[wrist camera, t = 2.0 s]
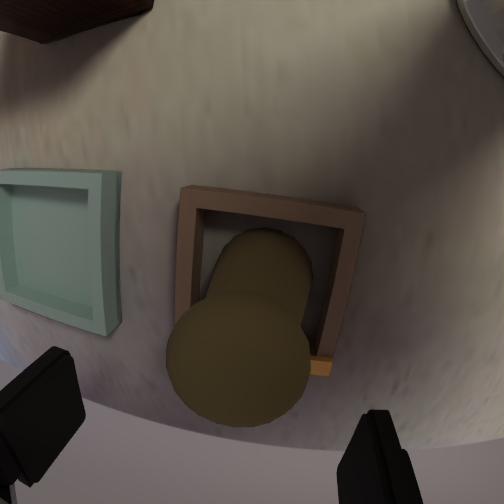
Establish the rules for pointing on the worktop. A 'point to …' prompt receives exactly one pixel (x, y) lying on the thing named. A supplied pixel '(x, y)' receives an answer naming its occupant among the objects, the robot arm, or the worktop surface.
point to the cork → (246, 333)
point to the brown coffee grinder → (64, 16)
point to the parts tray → (62, 245)
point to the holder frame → (278, 207)
